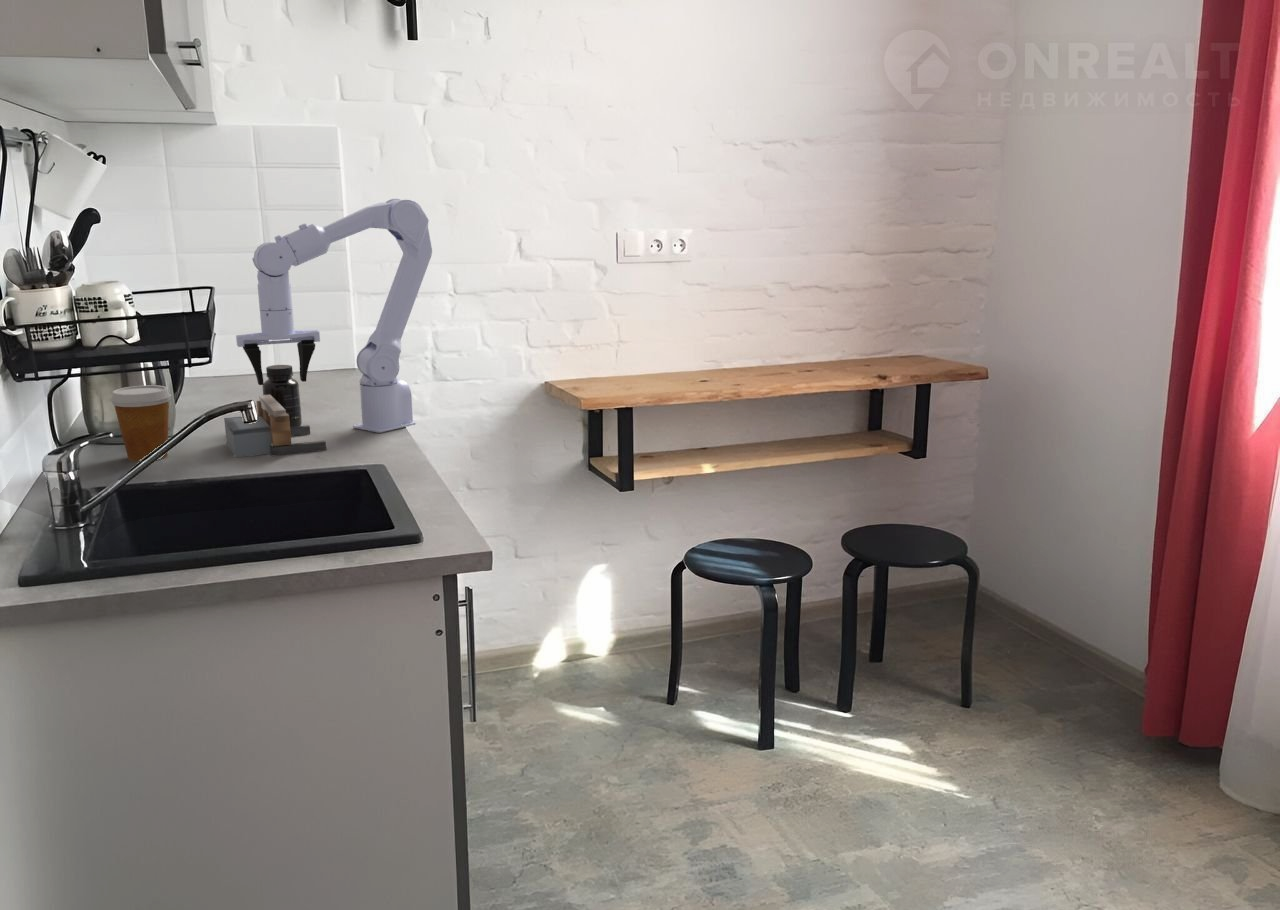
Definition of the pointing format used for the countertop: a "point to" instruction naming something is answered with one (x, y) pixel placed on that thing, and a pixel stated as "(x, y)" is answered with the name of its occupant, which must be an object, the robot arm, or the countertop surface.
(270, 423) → the tan piece
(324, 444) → the rail frame
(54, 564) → the countertop surface
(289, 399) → the supplement bottle
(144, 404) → the disposable coffee cup
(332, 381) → the countertop surface
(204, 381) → the countertop surface
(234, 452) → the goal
